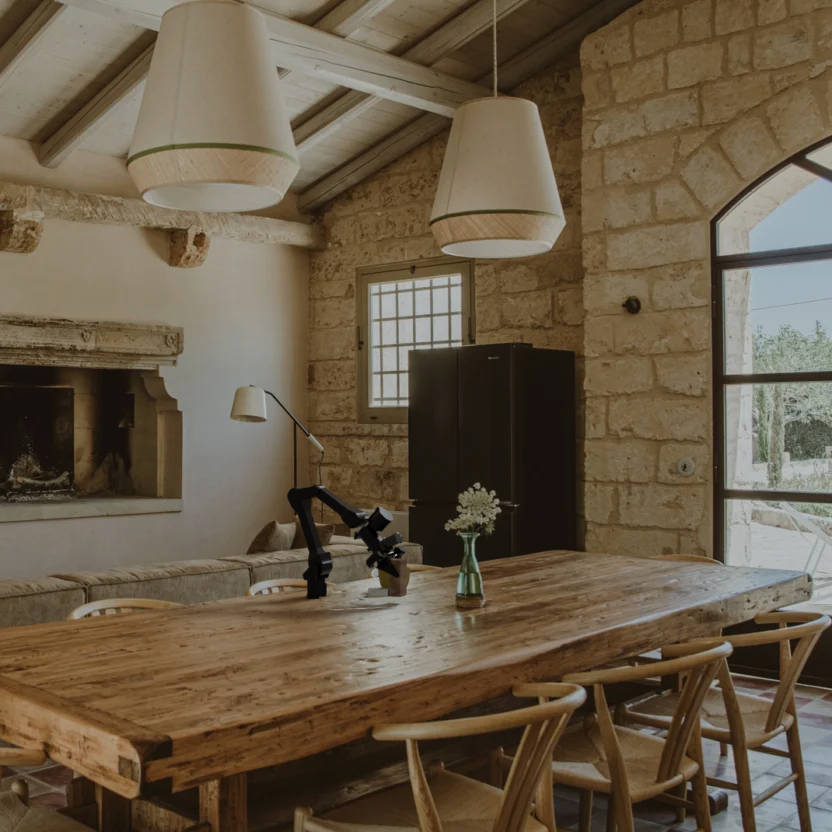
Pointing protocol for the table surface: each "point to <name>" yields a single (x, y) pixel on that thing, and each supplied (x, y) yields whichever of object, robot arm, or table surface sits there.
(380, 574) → the flower pot
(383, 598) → the sage board
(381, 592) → the grey metal block
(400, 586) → the walnut post
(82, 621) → the table surface
